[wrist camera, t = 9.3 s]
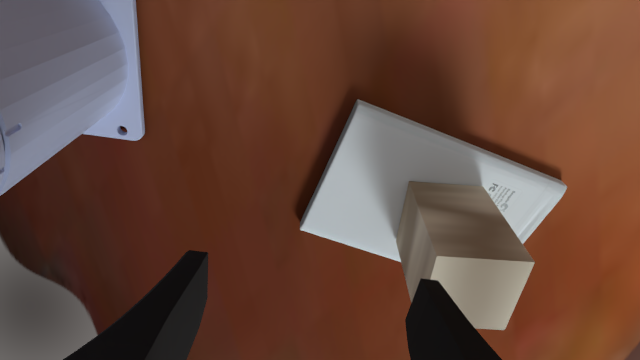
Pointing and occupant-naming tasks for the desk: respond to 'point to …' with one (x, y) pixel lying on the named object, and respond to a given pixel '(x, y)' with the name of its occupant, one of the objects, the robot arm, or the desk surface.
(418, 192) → the birch block
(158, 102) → the desk surface
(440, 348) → the robot arm
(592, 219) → the desk surface
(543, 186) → the external hard drive
